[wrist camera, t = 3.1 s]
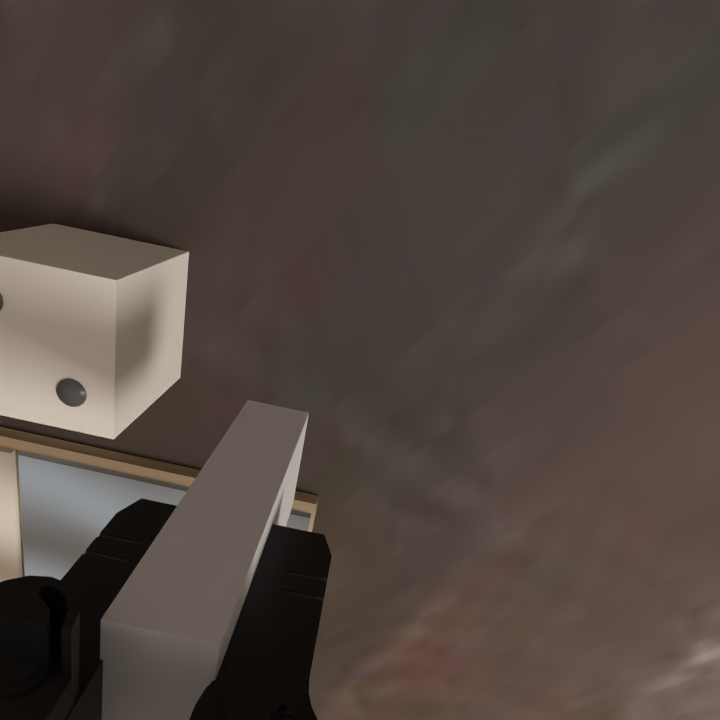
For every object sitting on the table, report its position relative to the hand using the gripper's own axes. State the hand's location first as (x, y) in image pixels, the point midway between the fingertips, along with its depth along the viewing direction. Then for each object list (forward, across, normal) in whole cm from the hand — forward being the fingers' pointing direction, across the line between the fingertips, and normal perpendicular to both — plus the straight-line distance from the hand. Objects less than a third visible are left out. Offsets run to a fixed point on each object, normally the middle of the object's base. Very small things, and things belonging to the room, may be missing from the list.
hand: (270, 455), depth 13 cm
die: (+7, -8, 0) cm, 11 cm away
